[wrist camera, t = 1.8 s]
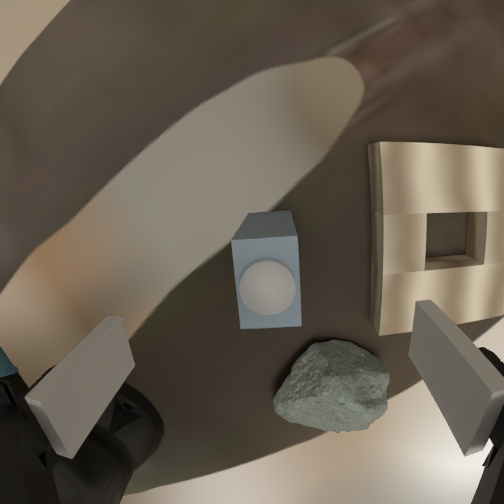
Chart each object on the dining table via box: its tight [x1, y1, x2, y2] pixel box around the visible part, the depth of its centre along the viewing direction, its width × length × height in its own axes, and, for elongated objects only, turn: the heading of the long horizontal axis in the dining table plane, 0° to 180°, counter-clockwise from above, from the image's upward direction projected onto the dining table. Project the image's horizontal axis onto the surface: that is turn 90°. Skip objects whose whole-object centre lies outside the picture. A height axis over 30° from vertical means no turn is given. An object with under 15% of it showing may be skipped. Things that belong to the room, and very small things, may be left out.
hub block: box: [368, 142, 504, 336], centre depth 28 cm, size 16×18×4 cm
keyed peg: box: [231, 210, 302, 329], centre depth 26 cm, size 4×6×13 cm, turn 5°
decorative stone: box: [273, 340, 390, 433], centre depth 33 cm, size 13×11×10 cm
